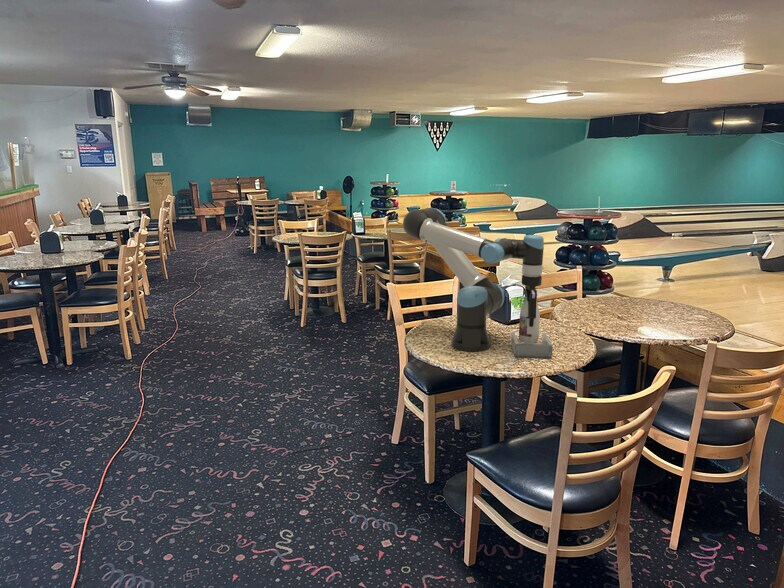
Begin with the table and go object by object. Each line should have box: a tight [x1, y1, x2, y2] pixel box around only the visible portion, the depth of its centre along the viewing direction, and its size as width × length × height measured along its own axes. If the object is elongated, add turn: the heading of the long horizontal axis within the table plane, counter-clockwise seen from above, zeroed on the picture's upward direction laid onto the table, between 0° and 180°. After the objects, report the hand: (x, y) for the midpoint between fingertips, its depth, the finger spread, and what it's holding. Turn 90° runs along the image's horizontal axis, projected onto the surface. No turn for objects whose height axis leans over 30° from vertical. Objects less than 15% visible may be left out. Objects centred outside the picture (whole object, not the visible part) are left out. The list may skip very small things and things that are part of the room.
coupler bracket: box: [510, 331, 554, 359], centre depth 204 cm, size 13×16×5 cm
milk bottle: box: [518, 291, 541, 343], centre depth 209 cm, size 8×8×20 cm
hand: (528, 330), depth 210 cm, fingers closed on milk bottle, 8 cm apart
